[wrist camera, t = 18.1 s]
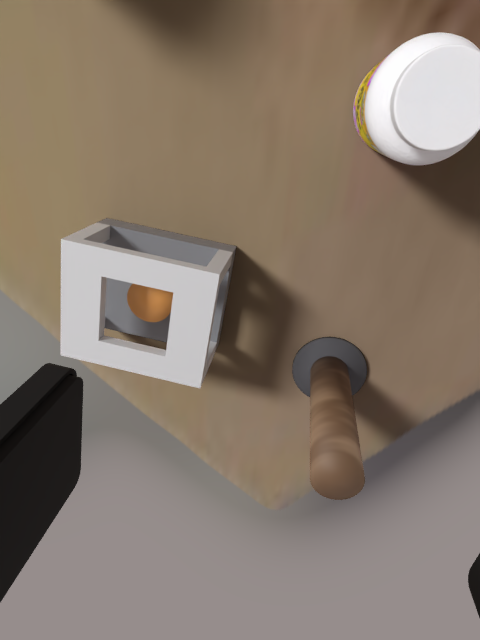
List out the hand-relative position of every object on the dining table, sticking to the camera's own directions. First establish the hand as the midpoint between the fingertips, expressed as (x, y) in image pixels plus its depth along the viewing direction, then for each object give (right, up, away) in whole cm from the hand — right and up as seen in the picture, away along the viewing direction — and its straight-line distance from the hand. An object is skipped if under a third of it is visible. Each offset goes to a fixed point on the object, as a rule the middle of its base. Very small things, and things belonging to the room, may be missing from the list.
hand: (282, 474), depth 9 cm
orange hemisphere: (-8, +6, +30) cm, 31 cm away
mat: (+8, -1, +33) cm, 34 cm away
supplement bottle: (+11, +19, +23) cm, 32 cm away
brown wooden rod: (+8, -2, +33) cm, 34 cm away
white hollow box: (-8, +7, +32) cm, 33 cm away
